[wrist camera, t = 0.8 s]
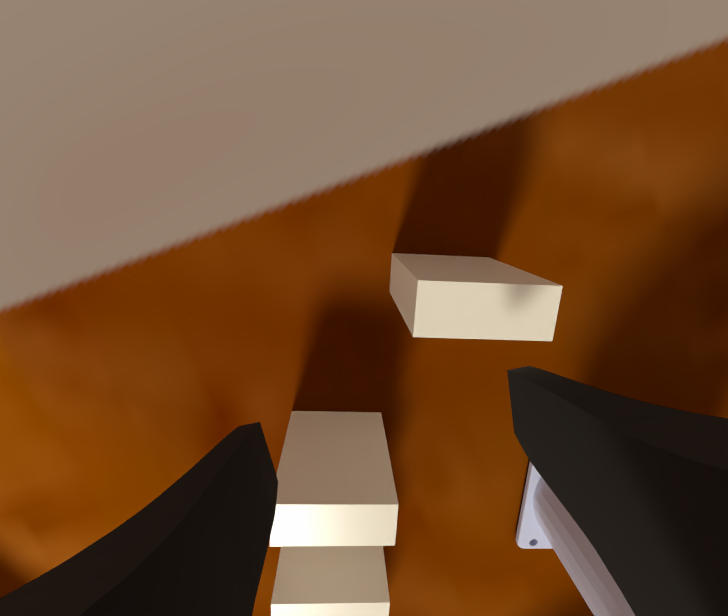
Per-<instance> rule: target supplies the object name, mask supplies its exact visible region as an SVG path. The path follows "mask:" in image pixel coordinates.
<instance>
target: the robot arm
mask: <svg viewBox="0 0 728 616" xmlns="http://www.w3.org/2000/svg"><path fill="white" fill-rule="evenodd" d="M507 372H508V381H509V390H510V398H511V407H512V416H513V425H514V433H515V435H516V437H517V438H518V440H519V442H520V444H521V446H522V448H523V450H524V451H525V453H526V455H527V456H528V458H529V460H530V463H529V468H528V474H527V479H526V484H525V490H524V495H523V501H522V506H521V511H520V517H519V522H518V527H517V533H516V542H517V544H518V546H519V547H520V548H524V549H533V548H553V549H554V551H555V552H556V554H557V556H558V557H559V559H560V561H561V562H562V564H563V565H564V567H565V569H566V570H567V572H568V574H569V575H570V577H571V579H572V580H573V582H574V584H575V585H576V587H577V588H578V590H579V592H580V593H581V595H582V597H583V598H584V600H585V602H586V603H587V605H588V607H589V608H590V610H591V612H592V613H593V615H594V616H728V418H721V417H715V416H708V415H702V414H697V413H691V412H686V411H682V410H677V409H672V408H668V407H663V406H659V405H654V404H650V403H646V402H642V401H638V400H635V399H631V398H628V397H624V396H621V395H617V394H614V393H610V392H607V391H604V390H601V389H598V388H595V387H592V386H588V385H586V384H583V383H580V382H577V381H574V380H571V379H568V378H565V377H562V376H559V375H557V374H554V373H551V372H548V371H545V370H542V369H538V368H535V367H530V366H526V367H522V368H517V369H512V370H507ZM277 491H278V479H277V476H276V473H275V469H274V466H273V463H272V460H271V457H270V453H269V450H268V447H267V444H266V440H265V437H264V434H263V431H262V428H261V424H260V422H257V423H252V424H248V425H243V426H239V427H237V428H236V429H235V430H233V431H232V432H231V433H230V434H229V435H227V436H226V437H225V438H224V439H223V440H222V441H221V442H220V443H219V444H217V445H216V446H215V447H214V448H213V449H212V450H211V451H210V452H209V453H208V454H207V455H205V456H204V457H203V458H202V459H201V460H200V461H199V462H198V463H197V464H196V465H195V466H193V467H192V468H191V469H190V470H189V471H188V472H187V473H186V474H184V475H183V476H182V477H181V478H180V479H179V480H177V481H176V482H175V483H174V484H173V485H171V486H170V487H169V488H168V489H167V490H166V491H164V492H163V493H162V494H161V495H160V496H159V497H157V498H156V499H155V500H154V501H152V502H151V503H150V504H148V505H147V506H146V507H145V508H143V509H142V510H141V511H139V512H138V513H137V514H135V515H134V516H133V517H131V518H130V519H128V520H127V521H126V522H124V523H123V524H122V525H120V526H119V527H117V528H116V529H114V530H113V531H112V532H110V533H109V534H107V535H105V536H104V537H102V538H101V539H99V540H98V541H96V542H95V543H93V544H92V545H90V546H88V547H87V548H85V549H84V550H82V551H81V552H79V553H78V554H76V555H75V556H73V557H71V558H70V559H68V560H67V561H65V562H63V563H62V564H60V565H58V566H57V567H55V568H53V569H52V570H50V571H48V572H46V573H45V574H43V575H41V576H40V577H38V578H36V579H34V580H32V581H31V582H29V583H27V584H25V585H23V586H22V587H20V588H18V589H16V590H14V591H13V592H11V593H9V594H7V595H5V596H3V597H2V598H0V616H252V612H253V607H254V602H255V598H256V594H257V590H258V585H259V581H260V577H261V573H262V569H263V565H264V560H265V556H266V552H267V548H268V544H269V539H270V535H271V531H272V526H273V522H274V517H275V510H276V502H277Z"/></svg>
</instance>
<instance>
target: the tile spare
mask: <svg viewBox="0 0 728 616" xmlns="http://www.w3.org/2000/svg"><path fill="white" fill-rule="evenodd" d="M389 292H390V294H391V296H392V298H393V300H394V301H395V303H396V305H397V307H398V309H399V311H400V313H401V315H402V317H403V319H404V321H405V323H406V324H407V326H408V328H409V330H410V332H411V334H412V336H413V337H430V338H464V339H498V340H532V341H552V340H553V335H554V329H555V324H556V319H557V313H558V308H559V303H560V297H561V292H562V286H561V285H559V284H556V283H554V282H551V281H548V280H546V279H543V278H541V277H538V276H536V275H533V274H530V273H528V272H525V271H523V270H520V269H518V268H515V267H512V266H510V265H507V264H505V263H502V262H499V261H497V260H494V259H492V258H489V257H470V256H447V255H424V254H401V253H392V262H391V276H390V291H389Z"/></svg>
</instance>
